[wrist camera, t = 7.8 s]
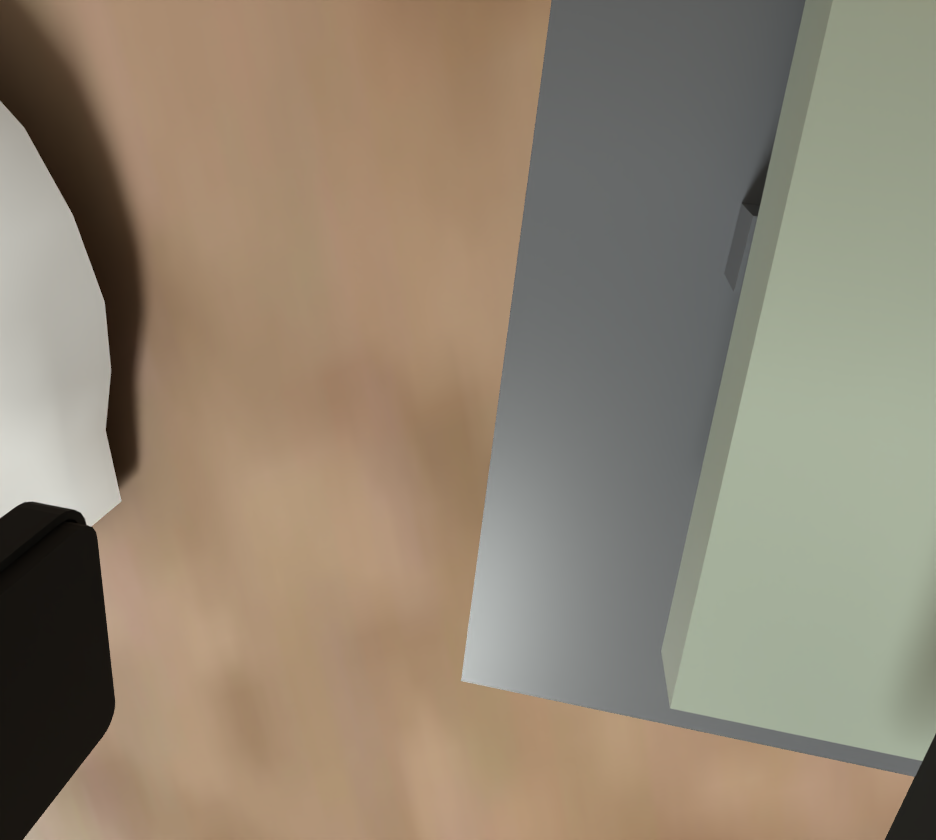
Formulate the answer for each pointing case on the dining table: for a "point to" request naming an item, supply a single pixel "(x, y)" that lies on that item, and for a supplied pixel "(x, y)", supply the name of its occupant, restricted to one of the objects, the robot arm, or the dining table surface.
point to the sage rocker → (828, 412)
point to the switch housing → (625, 346)
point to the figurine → (49, 345)
